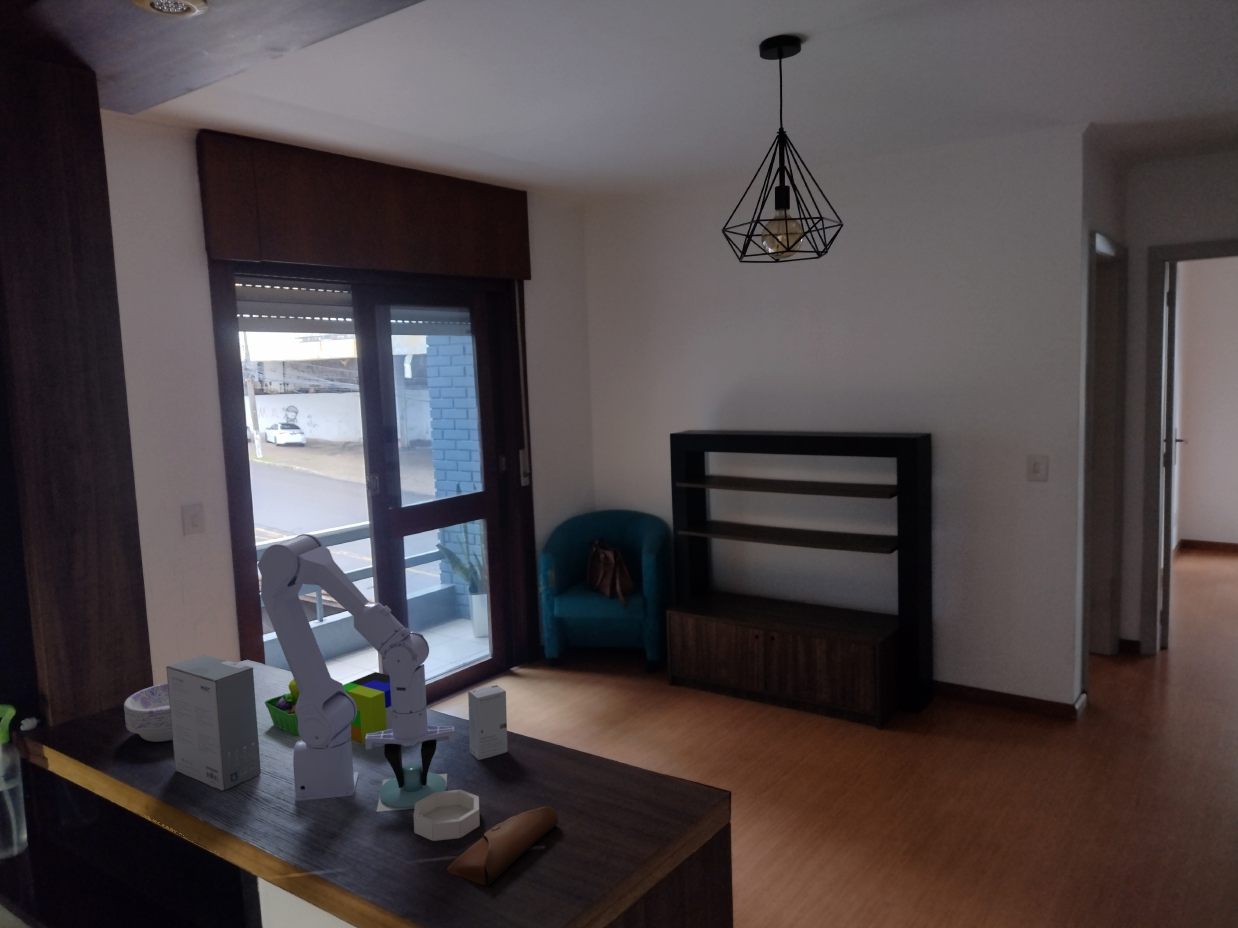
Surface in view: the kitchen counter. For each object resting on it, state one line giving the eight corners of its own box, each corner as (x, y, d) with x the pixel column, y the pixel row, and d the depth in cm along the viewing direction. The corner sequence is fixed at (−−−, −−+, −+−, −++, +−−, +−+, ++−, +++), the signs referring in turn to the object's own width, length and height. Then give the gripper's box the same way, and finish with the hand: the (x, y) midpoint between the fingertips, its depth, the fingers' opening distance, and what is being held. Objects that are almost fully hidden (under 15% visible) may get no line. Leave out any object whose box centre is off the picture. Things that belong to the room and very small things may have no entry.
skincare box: (478, 761, 158) (476, 698, 156) (469, 752, 161) (466, 690, 160) (509, 752, 161) (507, 690, 160) (498, 744, 165) (496, 683, 163)
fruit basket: (264, 724, 176) (260, 671, 175) (304, 711, 183) (301, 659, 181) (292, 740, 168) (288, 684, 167) (333, 725, 175) (330, 671, 174)
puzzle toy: (412, 728, 173) (410, 680, 172) (373, 747, 164) (371, 697, 163) (377, 718, 178) (375, 671, 177) (338, 736, 170) (335, 687, 169)
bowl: (413, 844, 131) (412, 826, 130) (417, 811, 141) (416, 793, 140) (479, 837, 132) (479, 818, 132) (479, 804, 142) (478, 787, 142)
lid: (376, 811, 140) (374, 786, 139) (383, 779, 151) (382, 756, 150) (445, 804, 142) (444, 780, 141) (447, 773, 153) (446, 750, 152)
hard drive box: (263, 774, 154) (255, 667, 152) (223, 792, 148) (214, 681, 146) (212, 754, 163) (204, 652, 160) (172, 770, 156) (163, 665, 154)
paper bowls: (161, 754, 163) (158, 714, 162) (109, 740, 170) (106, 702, 169) (228, 723, 177) (226, 686, 176) (178, 711, 183) (175, 676, 182)
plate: (376, 813, 140) (376, 811, 140) (383, 781, 151) (383, 779, 151) (445, 806, 142) (445, 804, 142) (447, 775, 153) (447, 773, 153)
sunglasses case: (514, 812, 139) (530, 783, 137) (546, 843, 137) (564, 813, 135) (442, 872, 124) (459, 840, 121) (477, 907, 121) (495, 875, 119)
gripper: (361, 720, 139) (365, 799, 141) (452, 712, 142) (455, 790, 143) (366, 703, 146) (370, 779, 148) (453, 696, 149) (456, 771, 150)
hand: (412, 783), depth 146 cm, fingers closed on lid, 3 cm apart
